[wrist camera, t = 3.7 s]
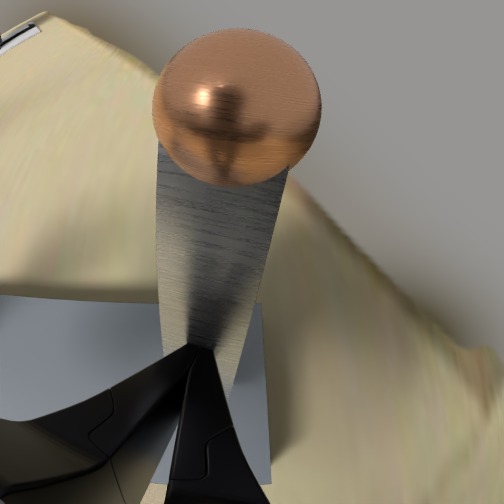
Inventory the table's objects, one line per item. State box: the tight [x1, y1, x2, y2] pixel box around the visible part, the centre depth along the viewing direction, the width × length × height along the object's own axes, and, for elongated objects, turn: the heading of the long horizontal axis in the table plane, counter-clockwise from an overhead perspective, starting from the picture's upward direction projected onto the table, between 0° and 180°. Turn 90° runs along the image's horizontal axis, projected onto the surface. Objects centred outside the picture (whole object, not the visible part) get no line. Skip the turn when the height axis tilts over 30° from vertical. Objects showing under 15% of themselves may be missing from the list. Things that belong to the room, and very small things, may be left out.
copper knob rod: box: [152, 29, 322, 403], centre depth 8 cm, size 3×3×12 cm
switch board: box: [0, 294, 272, 485], centre depth 12 cm, size 9×23×2 cm, turn 93°
